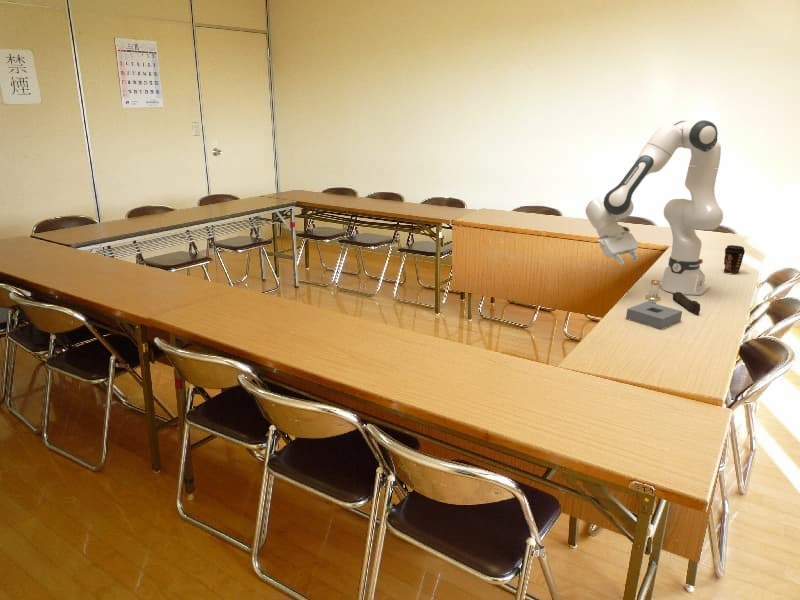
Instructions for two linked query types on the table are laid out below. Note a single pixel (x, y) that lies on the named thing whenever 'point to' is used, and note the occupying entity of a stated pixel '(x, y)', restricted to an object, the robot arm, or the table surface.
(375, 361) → the table surface
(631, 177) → the robot arm
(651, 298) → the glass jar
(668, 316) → the block
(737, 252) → the coffee cup
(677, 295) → the hand tool
